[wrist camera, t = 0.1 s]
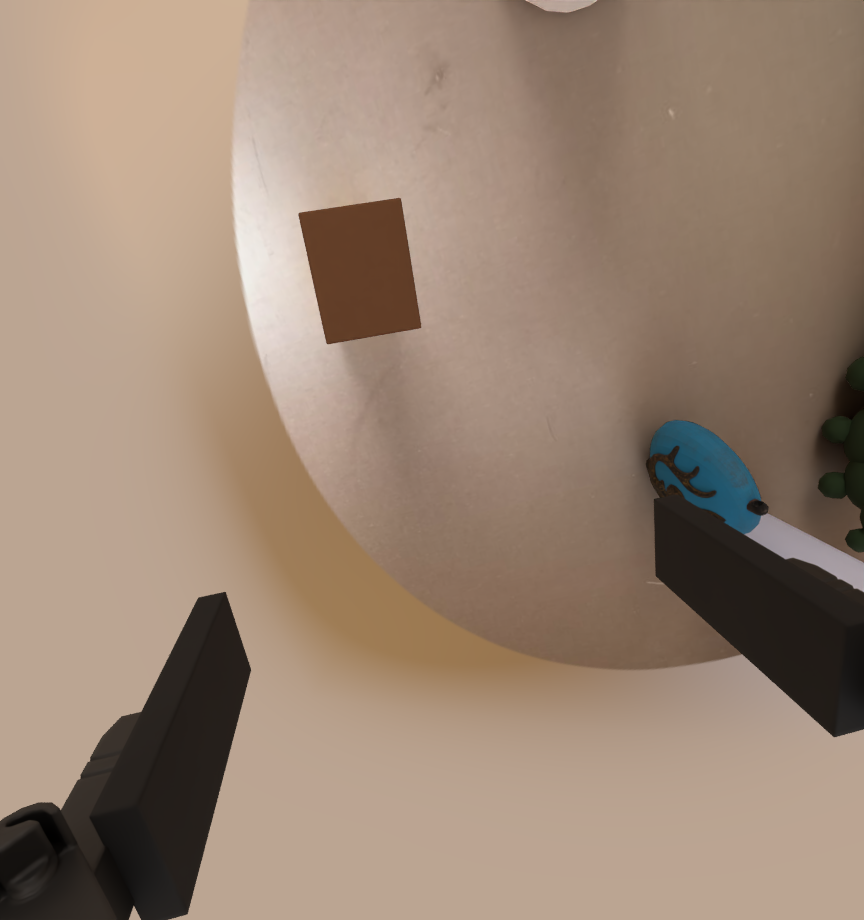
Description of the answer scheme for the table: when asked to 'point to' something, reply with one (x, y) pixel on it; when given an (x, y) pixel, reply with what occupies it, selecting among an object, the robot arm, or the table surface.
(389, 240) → the sponge
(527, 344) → the table surface
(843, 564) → the spray bottle
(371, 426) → the table surface
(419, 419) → the table surface
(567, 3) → the white plastic cylinder
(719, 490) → the ornament
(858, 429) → the toy figurine
